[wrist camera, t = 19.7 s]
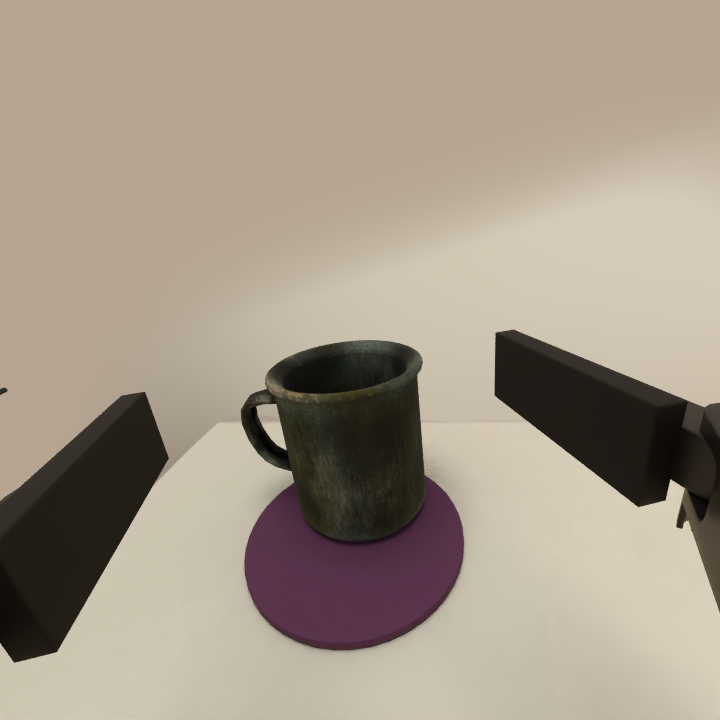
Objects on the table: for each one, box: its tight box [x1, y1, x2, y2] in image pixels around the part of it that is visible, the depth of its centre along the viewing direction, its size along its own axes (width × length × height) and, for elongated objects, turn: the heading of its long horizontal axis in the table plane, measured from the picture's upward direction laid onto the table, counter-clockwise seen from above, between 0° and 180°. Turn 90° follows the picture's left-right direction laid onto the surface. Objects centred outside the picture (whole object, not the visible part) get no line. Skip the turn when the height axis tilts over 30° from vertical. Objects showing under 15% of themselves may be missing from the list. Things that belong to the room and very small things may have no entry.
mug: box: [241, 340, 426, 542], centre depth 28 cm, size 11×15×12 cm
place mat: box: [244, 475, 464, 649], centre depth 27 cm, size 16×16×1 cm
